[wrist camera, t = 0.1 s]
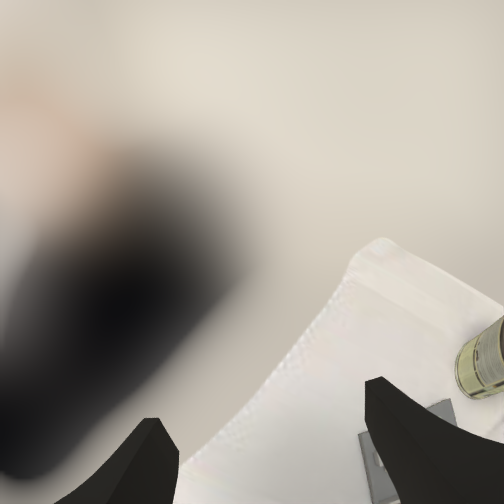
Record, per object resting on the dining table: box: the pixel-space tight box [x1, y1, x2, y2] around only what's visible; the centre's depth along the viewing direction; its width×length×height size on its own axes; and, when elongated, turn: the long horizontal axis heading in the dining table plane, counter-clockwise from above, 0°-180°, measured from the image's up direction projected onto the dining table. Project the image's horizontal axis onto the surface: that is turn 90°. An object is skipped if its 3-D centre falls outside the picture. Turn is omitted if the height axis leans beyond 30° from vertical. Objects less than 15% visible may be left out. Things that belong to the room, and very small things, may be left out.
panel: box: [358, 398, 457, 504], centre depth 25 cm, size 22×14×4 cm, turn 9°
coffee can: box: [455, 316, 504, 399], centre depth 28 cm, size 10×10×14 cm
